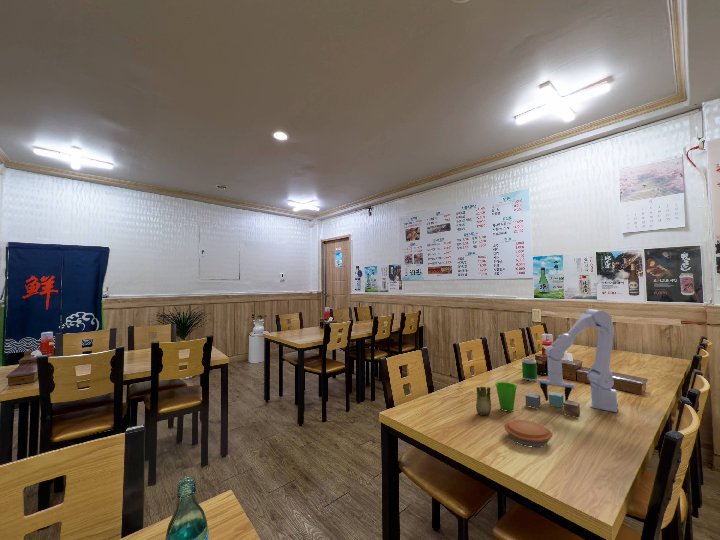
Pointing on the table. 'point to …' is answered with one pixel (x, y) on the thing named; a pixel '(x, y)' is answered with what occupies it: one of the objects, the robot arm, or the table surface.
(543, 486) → the table surface
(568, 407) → the walnut block
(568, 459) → the table surface
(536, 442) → the pie
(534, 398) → the charcoal block
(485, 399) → the fennel bulb
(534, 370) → the soda can
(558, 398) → the teal block
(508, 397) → the cup
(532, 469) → the table surface
